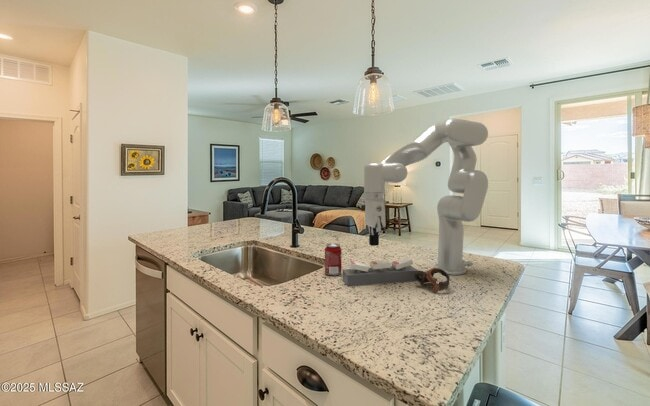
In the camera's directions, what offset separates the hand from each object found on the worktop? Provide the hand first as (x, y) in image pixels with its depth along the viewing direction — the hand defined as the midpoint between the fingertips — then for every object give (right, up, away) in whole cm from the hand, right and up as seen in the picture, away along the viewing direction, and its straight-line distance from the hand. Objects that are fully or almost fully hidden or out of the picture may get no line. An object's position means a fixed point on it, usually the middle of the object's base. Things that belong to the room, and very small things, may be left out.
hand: (374, 244), depth 114 cm
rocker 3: (+11, -8, +3) cm, 14 cm away
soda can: (-15, -13, +9) cm, 22 cm away
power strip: (+6, -14, +2) cm, 15 cm away
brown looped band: (+20, -15, -6) cm, 25 cm away
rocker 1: (-6, -8, 0) cm, 10 cm away
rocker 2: (+3, -8, +1) cm, 9 cm away
